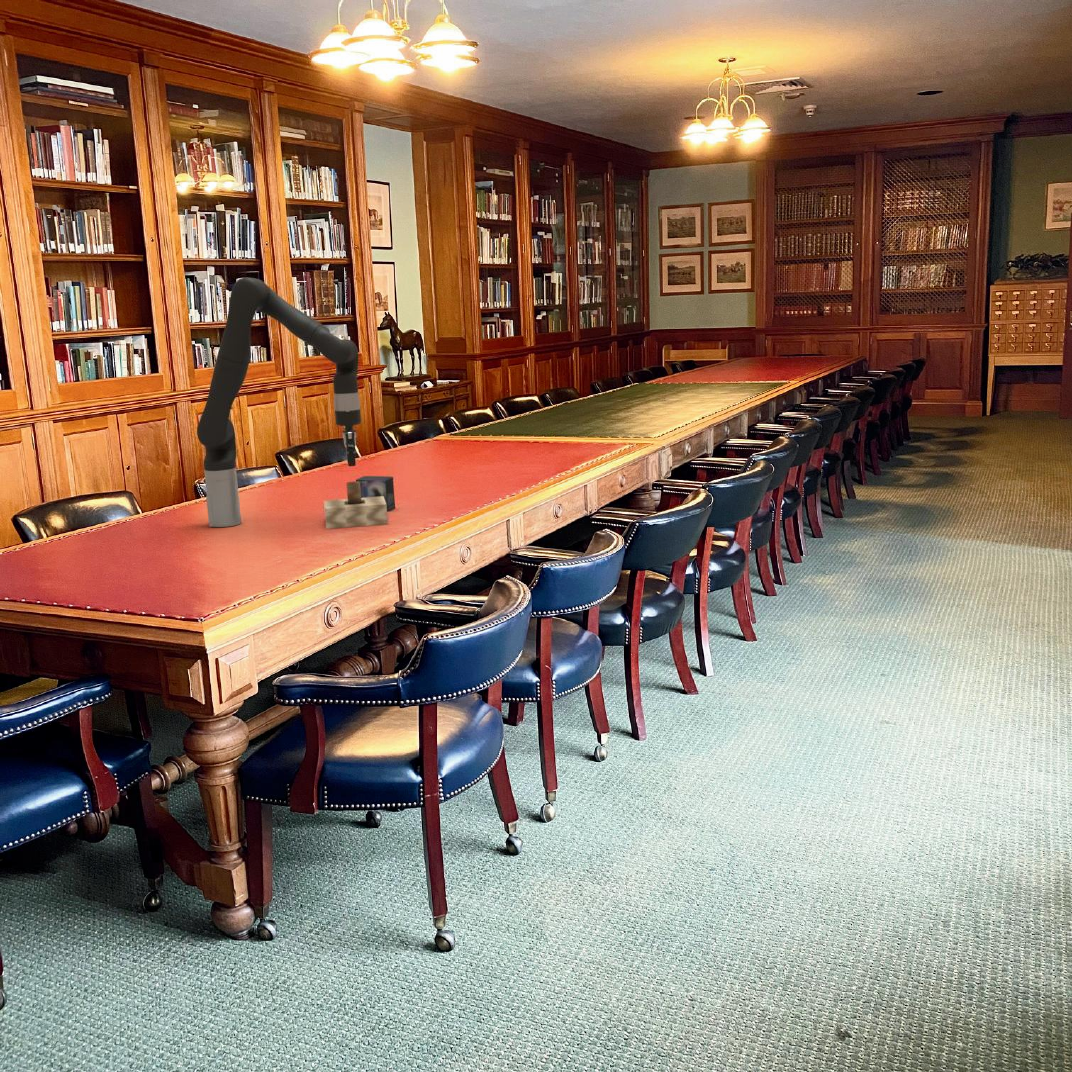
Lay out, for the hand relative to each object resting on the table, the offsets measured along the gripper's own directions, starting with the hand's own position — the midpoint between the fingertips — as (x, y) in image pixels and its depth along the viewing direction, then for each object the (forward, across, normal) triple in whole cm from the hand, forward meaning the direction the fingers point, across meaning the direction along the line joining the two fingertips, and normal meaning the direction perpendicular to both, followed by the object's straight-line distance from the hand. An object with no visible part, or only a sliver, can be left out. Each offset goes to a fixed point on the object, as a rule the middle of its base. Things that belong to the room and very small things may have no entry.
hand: (351, 464), depth 316 cm
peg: (+18, 0, 0) cm, 18 cm away
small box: (+18, -17, +7) cm, 26 cm away
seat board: (+18, 0, 0) cm, 18 cm away
